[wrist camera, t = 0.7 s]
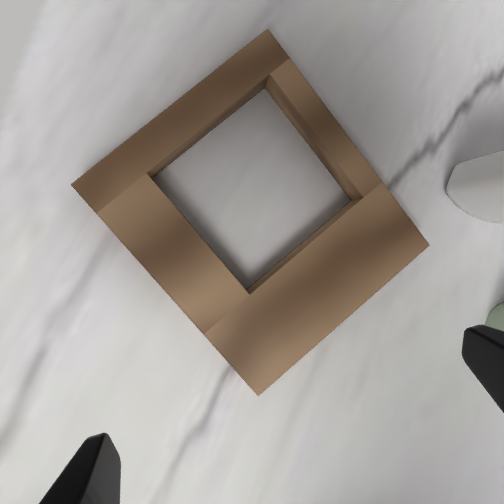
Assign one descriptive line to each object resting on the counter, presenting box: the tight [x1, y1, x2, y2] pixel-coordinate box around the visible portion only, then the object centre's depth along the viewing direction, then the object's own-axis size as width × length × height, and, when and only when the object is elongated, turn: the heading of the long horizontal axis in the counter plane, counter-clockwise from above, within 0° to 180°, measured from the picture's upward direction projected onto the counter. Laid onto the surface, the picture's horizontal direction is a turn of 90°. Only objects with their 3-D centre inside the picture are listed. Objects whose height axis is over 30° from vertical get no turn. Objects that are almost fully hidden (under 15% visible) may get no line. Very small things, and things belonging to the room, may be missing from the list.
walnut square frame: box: [71, 29, 429, 396], centre depth 21 cm, size 16×14×2 cm
